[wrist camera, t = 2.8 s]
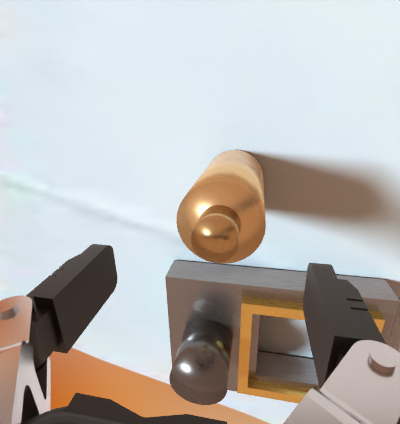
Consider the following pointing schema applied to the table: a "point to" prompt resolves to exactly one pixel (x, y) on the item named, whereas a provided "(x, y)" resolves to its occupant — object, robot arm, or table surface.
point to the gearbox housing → (246, 329)
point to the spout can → (225, 209)
